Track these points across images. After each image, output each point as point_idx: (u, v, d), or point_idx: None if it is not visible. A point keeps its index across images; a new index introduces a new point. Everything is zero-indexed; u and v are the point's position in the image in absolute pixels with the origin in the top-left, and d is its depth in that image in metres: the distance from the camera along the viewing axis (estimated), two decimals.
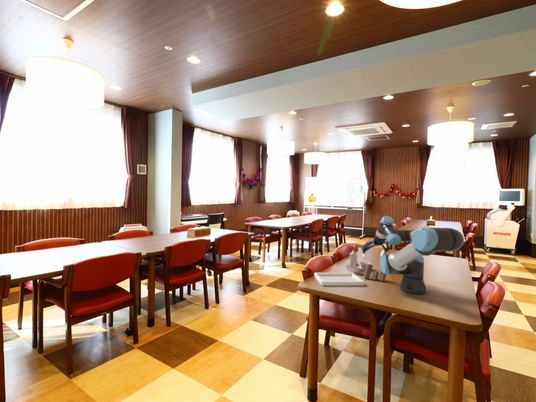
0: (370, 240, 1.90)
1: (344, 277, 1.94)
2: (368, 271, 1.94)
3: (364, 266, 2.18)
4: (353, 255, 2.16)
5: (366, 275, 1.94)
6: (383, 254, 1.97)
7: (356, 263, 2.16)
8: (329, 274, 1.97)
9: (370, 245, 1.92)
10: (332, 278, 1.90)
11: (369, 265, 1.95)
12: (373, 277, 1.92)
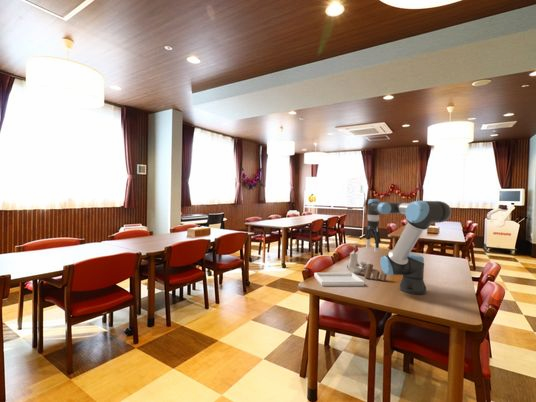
0: (376, 228, 1.88)
1: (344, 277, 1.94)
2: (369, 271, 1.95)
3: (364, 266, 2.18)
4: (353, 255, 2.16)
5: (367, 275, 1.94)
6: None
7: (356, 263, 2.15)
8: (329, 274, 1.97)
9: None
10: (332, 278, 1.90)
11: (370, 265, 1.96)
12: (374, 277, 1.92)
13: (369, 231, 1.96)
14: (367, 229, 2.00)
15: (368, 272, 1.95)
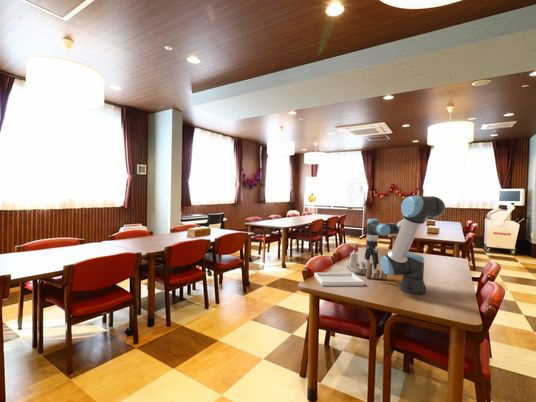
0: None
1: (344, 277, 1.94)
2: (370, 270, 1.95)
3: (365, 266, 2.18)
4: (354, 255, 2.16)
5: (368, 274, 1.95)
6: None
7: (357, 263, 2.15)
8: (329, 274, 1.97)
9: None
10: (332, 278, 1.90)
11: (371, 264, 1.97)
12: (376, 276, 1.93)
13: (368, 251, 1.97)
14: (366, 249, 2.01)
15: (369, 271, 1.95)
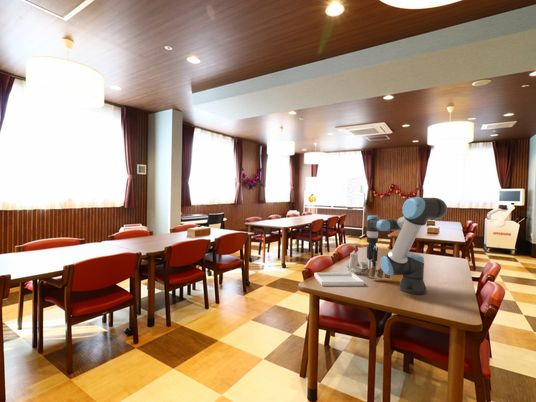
0: (376, 247, 1.88)
1: (344, 277, 1.94)
2: (373, 269, 1.91)
3: (365, 266, 2.18)
4: (354, 255, 2.16)
5: (372, 273, 1.90)
6: None
7: (357, 263, 2.15)
8: (329, 274, 1.97)
9: None
10: (332, 278, 1.90)
11: None
12: (379, 275, 1.89)
13: (369, 248, 1.95)
14: (367, 247, 2.00)
15: (373, 270, 1.91)
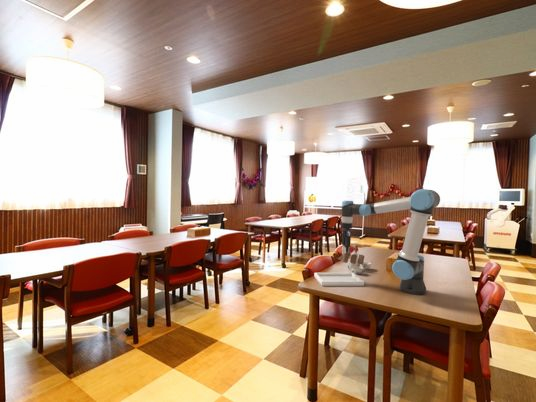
0: (349, 233, 1.84)
1: (344, 277, 1.94)
2: (347, 255, 1.88)
3: (365, 266, 2.18)
4: None
5: (345, 259, 1.87)
6: None
7: (357, 263, 2.15)
8: (329, 274, 1.97)
9: None
10: (332, 278, 1.90)
11: None
12: (352, 260, 1.86)
13: (343, 233, 1.92)
14: (342, 233, 1.96)
15: (346, 256, 1.88)
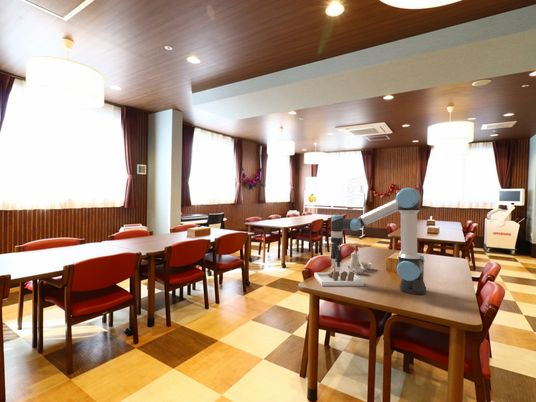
0: (339, 247, 1.83)
1: None
2: (337, 272, 1.86)
3: (365, 266, 2.18)
4: (355, 255, 2.15)
5: (335, 276, 1.85)
6: (335, 263, 1.94)
7: (358, 263, 2.15)
8: None
9: None
10: None
11: None
12: (342, 278, 1.84)
13: (333, 248, 1.90)
14: (332, 247, 1.94)
15: (336, 273, 1.86)
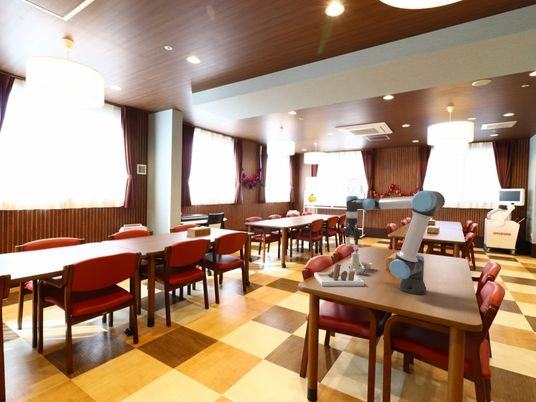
0: (355, 225, 1.85)
1: None
2: (337, 271, 1.87)
3: (366, 266, 2.18)
4: (355, 255, 2.15)
5: (336, 276, 1.86)
6: (349, 241, 1.99)
7: (358, 263, 2.15)
8: None
9: None
10: (332, 278, 1.90)
11: (338, 265, 1.88)
12: (343, 277, 1.85)
13: (348, 228, 1.93)
14: (346, 227, 1.98)
15: (336, 273, 1.87)
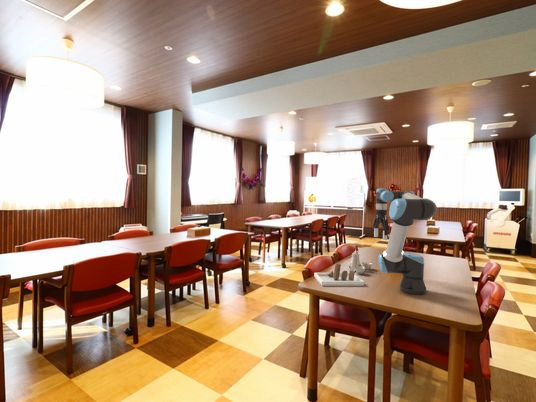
0: None
1: None
2: (338, 271, 1.87)
3: (366, 266, 2.18)
4: (356, 255, 2.15)
5: (336, 276, 1.86)
6: None
7: (359, 263, 2.15)
8: None
9: None
10: (332, 278, 1.90)
11: (338, 265, 1.89)
12: (343, 277, 1.86)
13: (377, 220, 2.01)
14: (375, 218, 2.05)
15: (337, 273, 1.87)
